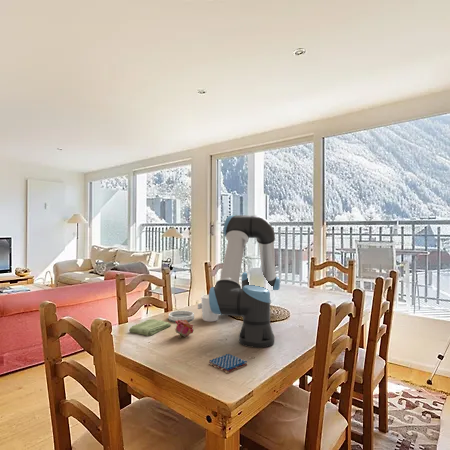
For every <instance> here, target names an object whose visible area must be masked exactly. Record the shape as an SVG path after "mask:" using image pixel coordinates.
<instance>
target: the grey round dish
mask: <svg viewBox="0 0 450 450" xmlns="http://www.w3.org/2000/svg"><path fill="white" fill-rule="evenodd" d="M194 319H195V313H194V312H193V311H190V310H183V309H182V310H174V311H170V312H169V313H168V321H169V322H171V323H176V322H175V321H178V320H180V321H181V320H182V321H183V320H187V321H188V323H190V322H191V321H194Z"/></svg>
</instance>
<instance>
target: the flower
mask: <svg viewBox="0 0 450 450" xmlns="http://www.w3.org/2000/svg"><path fill="white" fill-rule="evenodd" d="M174 323H175V324H176V325H175V329H174V330H175V332H176V333H177V334H179V336H178V339H181V337H182V336H183V337H184V338H189V336H190V335H191V334H193V332H194V324H191V323H190V322H188V321H187V320H183V321H182V320H181V321H180V320H178V321H175V322H174Z"/></svg>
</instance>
